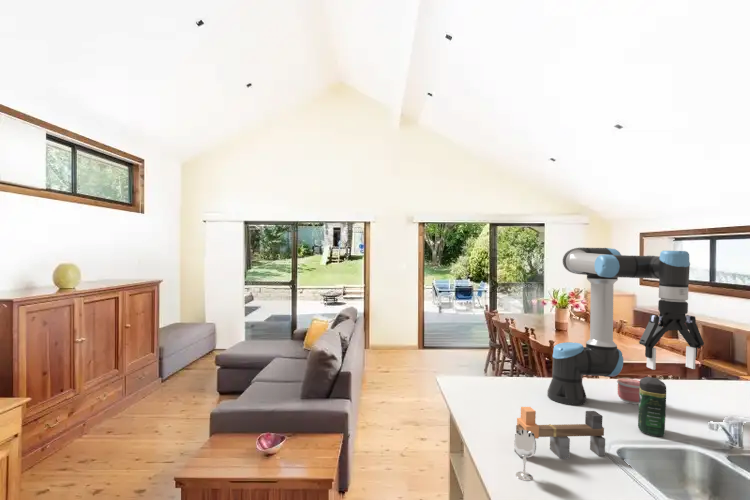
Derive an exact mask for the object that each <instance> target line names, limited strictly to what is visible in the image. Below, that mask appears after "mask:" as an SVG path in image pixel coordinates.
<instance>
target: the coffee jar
mask: <svg viewBox="0 0 750 500" xmlns="http://www.w3.org/2000/svg"><path fill="white" fill-rule="evenodd" d="M639 381H640V389H639V404H638V417H637V427H638V429H639V431H640V432H641V433H644V434H646V435H648V436H652V437H664V436H665V431H666V412H667V411H666V410H667V385H666V384H665V382H664V381H662V380H660V379H659V378H656V377H650V376H645V377H642V378H640V379H639Z"/></svg>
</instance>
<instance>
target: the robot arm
mask: <svg viewBox="0 0 750 500" xmlns="http://www.w3.org/2000/svg"><path fill="white" fill-rule="evenodd" d="M562 265H563V267H564V268H565V270H566V271H567V272H570V273H572V274H575V275H585V276H586V280H587V281H588V282H589V283H590V307H589V310H590V311H589V312H590V313H589V314H590V317H589V319H590V320H589V325H590V326H589V327H590V328H589V339H588V340H587V341H585V346H584V345H583V344H582V343H580V342H560V343H558V344H555V345H554V346H553V352H552V373H551V375H552V376H551V377H552V378H551V381H550V383H549V385H548V386H549V387H548V389H547V394H546V395H547V397H548V399H550V400H551V401H555V402H556V403H560V404H565V405H571V406H572V405H573V406H581V405H585V404H586V403H587V394H586V390H585V387H584V385H583V376H593V377H595V376H596V377H605V378H608V377H616V376H618V375H619V374H620V373H621V372H622V369H623V366H624V356H623V352H622V351H621V349H619V348H618V345H617V344H616V342H615V341H614V284H615V283H616V282H617V281H618V280H619V279H618V278H629V279H654V280H655V279H657V280H659V282H658V298H659V300H658V301H657V302H658V305H657V310H658V312H659V315H654V314H650V315H649V320H648V323H647V325H646V327H645V329H644V331H643V333H642V335H641V337H640V340H639V341H638V343H639V345H643V346H644V347H645V354H644V356H645V357H646V368H648V369H651V370H652V371H653V370H656V368H657V367H656V365H657V360H656V359H657V347H655V346H656V345H657V344H658V342H659V341H660V340H661V338H663V336H664V335H665V333H668V332H669V331H678V332H679V334H680V335H681V336H682V337H683V339H684V340H685V342H686V343H687V345H686V346H685V347H686V349H685V367H686V368H689V369H692V370H696V358H698V349H701V348H702V346H705V343H704V340H703V338H702V337H703V336H702V335H701V333H700V330H699V327H698V325H697V322H696V316H694V315H689V314H688V312H689V303H688V300H689V284H690V268H691V267H690V266H691V262H690V253H689V252H688V251H686V250H662V251H660V254H659V256H658V255H623V254H621V252H620V251H619V250H617V249H616V248H612V247H611V248H610V247H575V248H572V249H569V250H568V251H566V252H565V253H564V255H563V257H562Z"/></svg>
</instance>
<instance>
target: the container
mask: <svg viewBox="0 0 750 500" xmlns="http://www.w3.org/2000/svg"><path fill="white" fill-rule="evenodd" d="M616 382H617V395H618V397H619V398H620V401H621V402H624V403H627V404H632V405H639V389H640V380H638V379H633V378H622V377H621V378H618V379H616Z"/></svg>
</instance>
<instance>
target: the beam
mask: <svg viewBox="0 0 750 500" xmlns="http://www.w3.org/2000/svg"><path fill="white" fill-rule="evenodd" d="M584 414H585V415H584V416H585V419H584V420H585V421H584V423H581V424H580V423H579V424H578V423H576V424H575V423H574V424H572V423H570V424H568V423H567V424H551V423H550V424H537V425H538V426H539V438H546V437H547V438H548V437H549V450H550V451H551V452H553V453H554V455H555V456H556V457H558V458H559V459H570V447H571V446H570V445H571V444H570V442H571V439H570V437H589V438H590V441H589V450H590V451H591V452H593V453H594V454H595V455H596V456H598V457H605V456H606V455H605V454H606V453H605V452H606V438H605V437H604V435H605V427H603V415H602V414H601V413H599V412H597V411H595V410H586V411H585V413H584ZM518 430H524V428H523V427H522V426H521V425H517V424H516V425H515V433H514V437H515V436H516V432H517V431H518ZM514 452H515V453H516V455H518V457H519V458H520V459H523V456H520V455H519V454H518V453H517V452H516V450H515V449H514ZM526 459H528V457H526Z"/></svg>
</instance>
